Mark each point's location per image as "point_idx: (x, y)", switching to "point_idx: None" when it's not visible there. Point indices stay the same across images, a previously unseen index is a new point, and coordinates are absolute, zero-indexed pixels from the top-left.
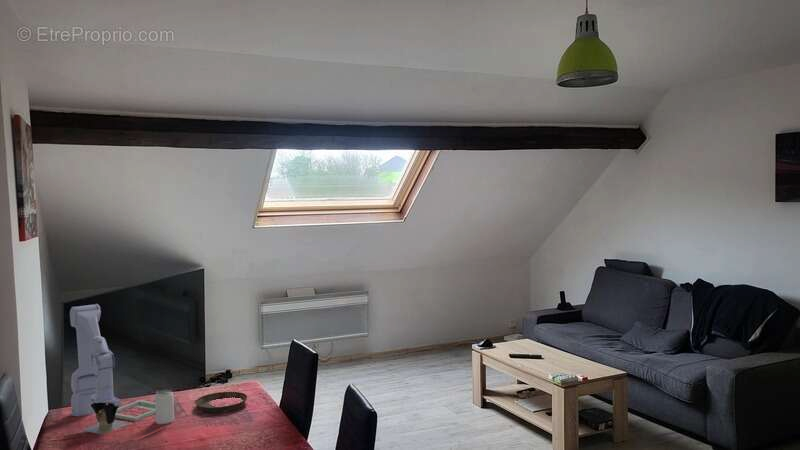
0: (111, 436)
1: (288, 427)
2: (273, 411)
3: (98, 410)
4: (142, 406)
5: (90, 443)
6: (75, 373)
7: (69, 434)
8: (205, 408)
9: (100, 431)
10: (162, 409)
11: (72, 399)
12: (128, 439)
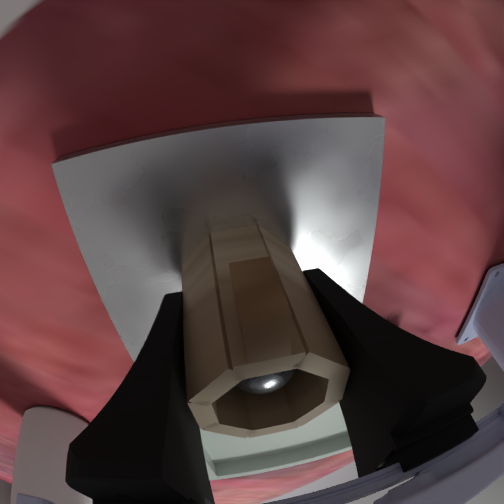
0: (22, 206)
1: None
2: (2, 479)
3: (358, 364)
4: (324, 437)
5: (13, 23)
6: None
7: (409, 42)
8: None
9: (155, 187)
10: (14, 475)
11: None
12: None
